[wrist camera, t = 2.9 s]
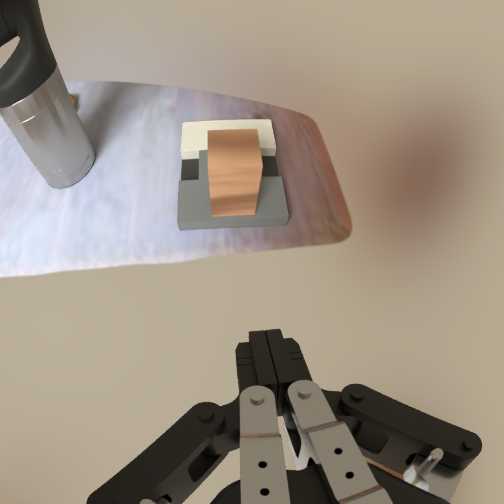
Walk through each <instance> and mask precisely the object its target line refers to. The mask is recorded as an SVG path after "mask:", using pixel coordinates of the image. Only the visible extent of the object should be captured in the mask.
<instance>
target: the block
mask: <svg viewBox="0 0 504 504" xmlns="http://www.w3.org/2000/svg"><path fill="white" fill-rule="evenodd" d="M262 168H263V164H262V157H261V150H260V144H259V137H258V131H257V129H228V130H208V179H209V191H210V203H211V214H212V217H218V216H237V215H255V210H256V204H257V198H258V192H259V186H260V180H261V174H262Z"/></svg>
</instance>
